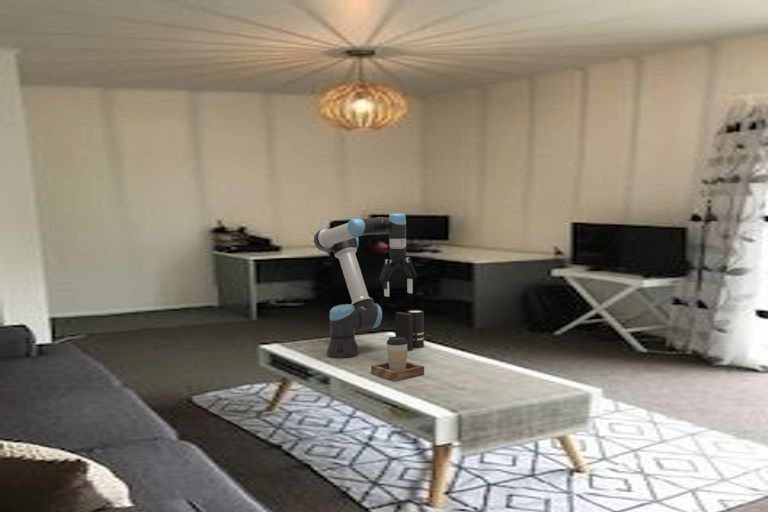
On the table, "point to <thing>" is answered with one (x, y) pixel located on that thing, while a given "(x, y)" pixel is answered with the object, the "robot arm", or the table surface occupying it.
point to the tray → (409, 372)
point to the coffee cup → (397, 353)
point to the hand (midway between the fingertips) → (398, 294)
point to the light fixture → (410, 328)
